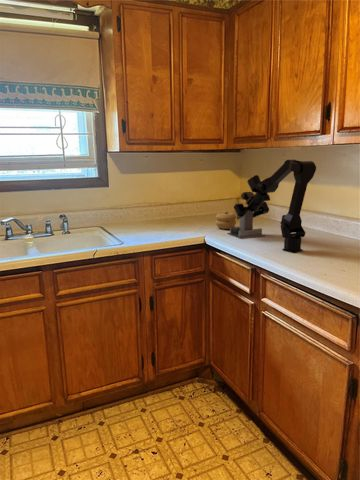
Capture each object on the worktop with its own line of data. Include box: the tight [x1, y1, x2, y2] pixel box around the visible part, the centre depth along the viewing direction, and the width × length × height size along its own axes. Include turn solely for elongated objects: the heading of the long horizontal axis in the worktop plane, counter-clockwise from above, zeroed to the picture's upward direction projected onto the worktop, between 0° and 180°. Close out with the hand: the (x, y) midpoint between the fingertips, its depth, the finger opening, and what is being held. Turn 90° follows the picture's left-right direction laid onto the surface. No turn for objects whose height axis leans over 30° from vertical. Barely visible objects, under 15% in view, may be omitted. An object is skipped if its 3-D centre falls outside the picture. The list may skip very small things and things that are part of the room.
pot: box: [215, 210, 237, 230], centre depth 214 cm, size 12×12×10 cm
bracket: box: [227, 226, 266, 240], centre depth 198 cm, size 13×15×4 cm
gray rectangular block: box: [239, 211, 254, 231], centre depth 197 cm, size 5×5×13 cm
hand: (244, 218), depth 197 cm, fingers open, 9 cm apart
